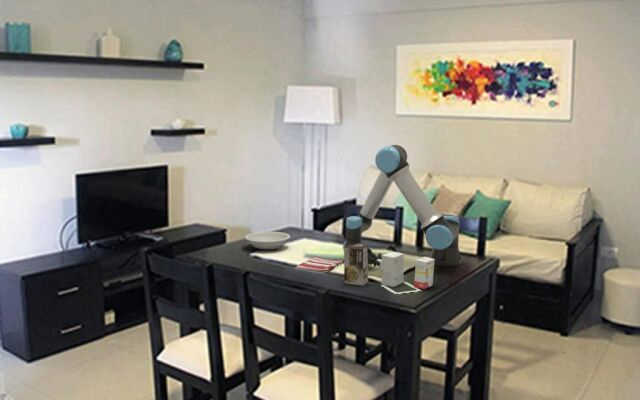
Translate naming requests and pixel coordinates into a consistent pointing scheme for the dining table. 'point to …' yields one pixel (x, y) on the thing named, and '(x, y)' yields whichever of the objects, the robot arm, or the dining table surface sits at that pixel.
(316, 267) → the dish towel
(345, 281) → the coffee box
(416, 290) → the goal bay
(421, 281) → the ink box
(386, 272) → the small box
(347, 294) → the dining table surface
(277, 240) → the soup bowl
